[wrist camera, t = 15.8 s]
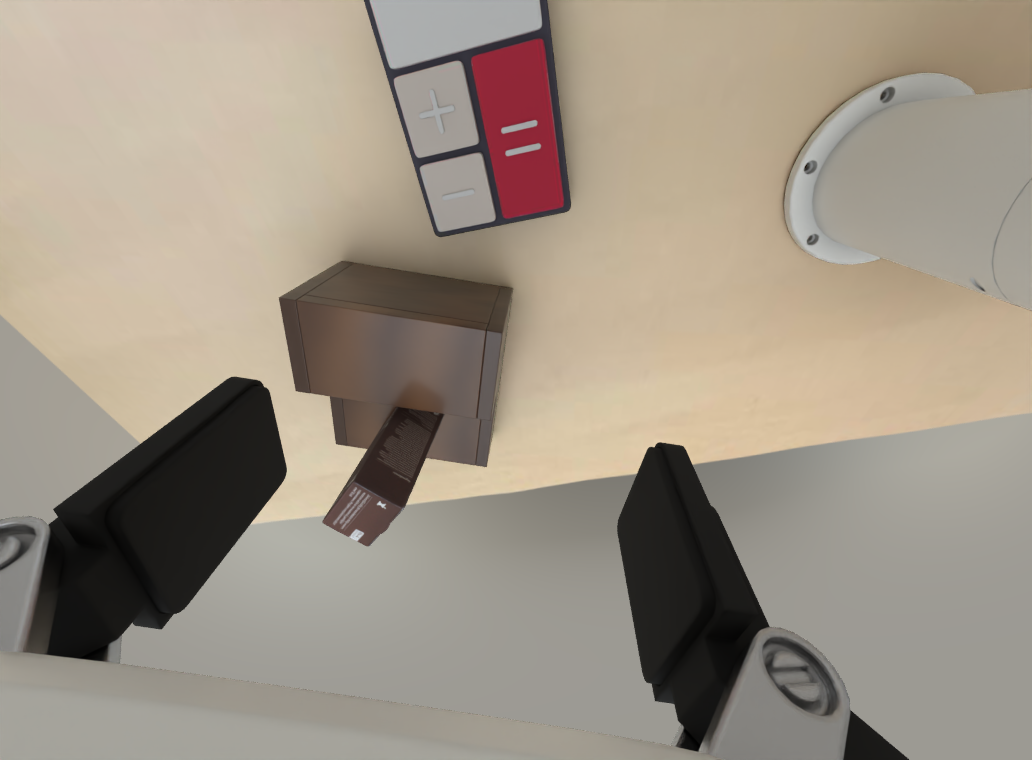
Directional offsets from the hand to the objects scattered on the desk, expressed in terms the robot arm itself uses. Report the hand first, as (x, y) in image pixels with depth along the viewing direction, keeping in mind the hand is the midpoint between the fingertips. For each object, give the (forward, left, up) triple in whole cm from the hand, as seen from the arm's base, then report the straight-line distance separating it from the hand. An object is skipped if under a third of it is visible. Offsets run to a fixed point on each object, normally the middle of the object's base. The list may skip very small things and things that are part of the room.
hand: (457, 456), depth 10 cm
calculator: (+4, -8, -28) cm, 30 cm away
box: (+8, +18, -24) cm, 31 cm away
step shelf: (+8, +13, -28) cm, 32 cm away
